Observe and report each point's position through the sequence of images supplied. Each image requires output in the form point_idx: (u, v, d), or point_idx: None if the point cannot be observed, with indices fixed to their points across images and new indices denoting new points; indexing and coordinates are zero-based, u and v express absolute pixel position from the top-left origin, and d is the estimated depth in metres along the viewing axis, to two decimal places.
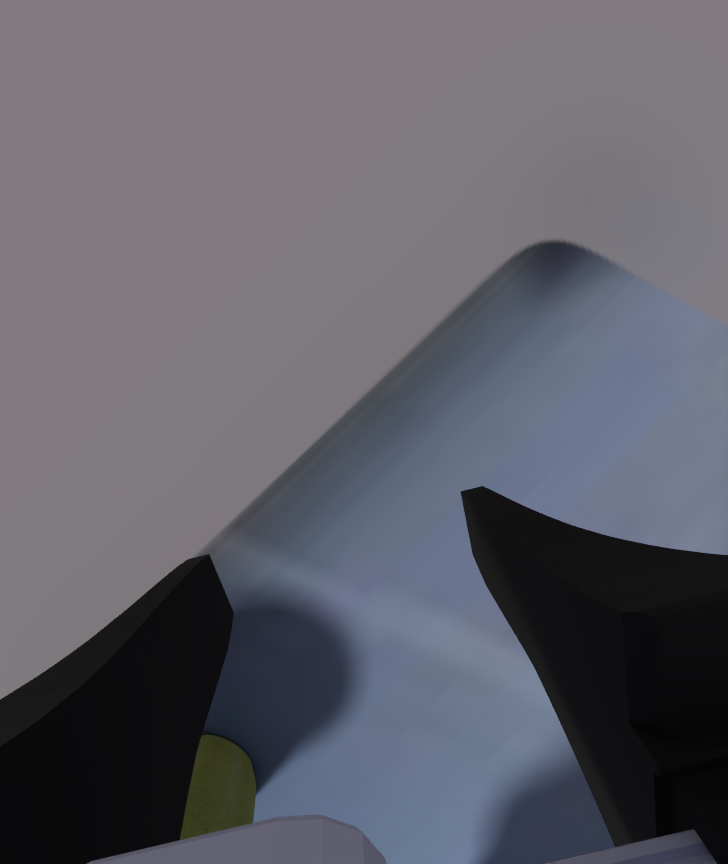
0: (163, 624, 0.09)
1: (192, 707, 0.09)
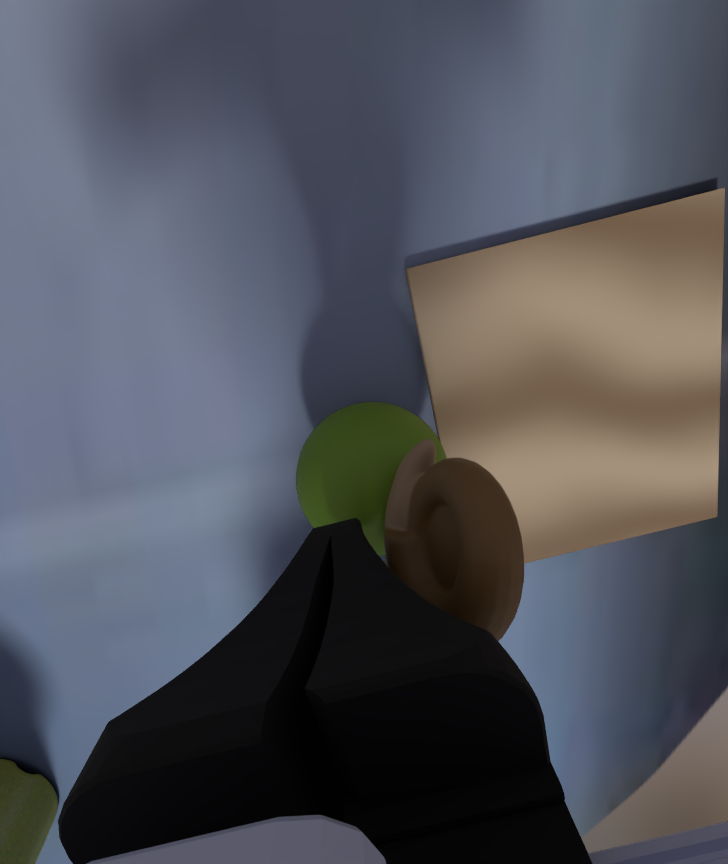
0: (325, 584, 0.09)
1: None
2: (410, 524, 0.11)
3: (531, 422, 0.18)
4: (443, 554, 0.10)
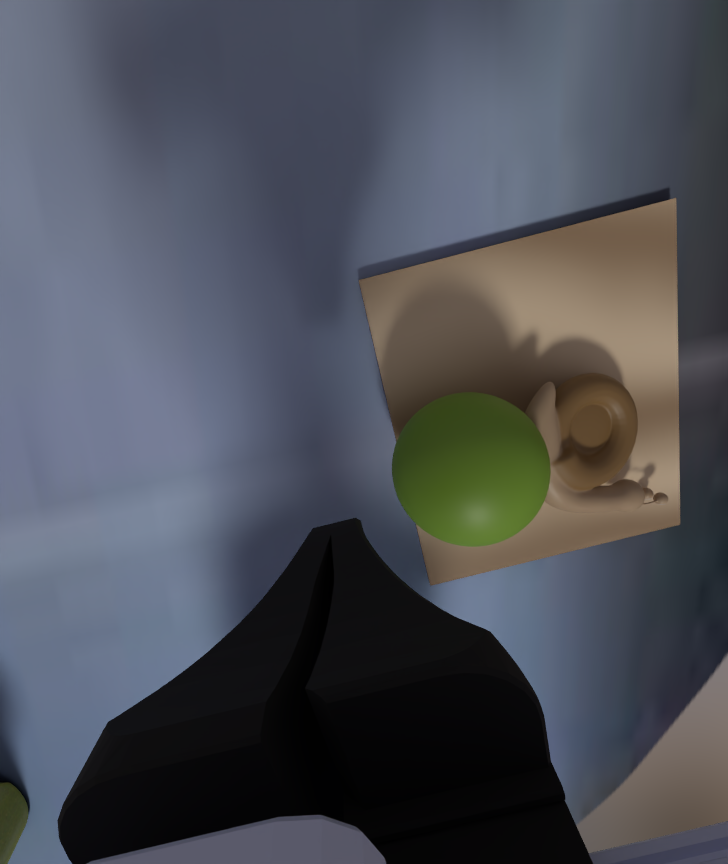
0: (324, 585, 0.09)
1: None
2: (564, 441, 0.16)
3: None
4: (593, 432, 0.17)
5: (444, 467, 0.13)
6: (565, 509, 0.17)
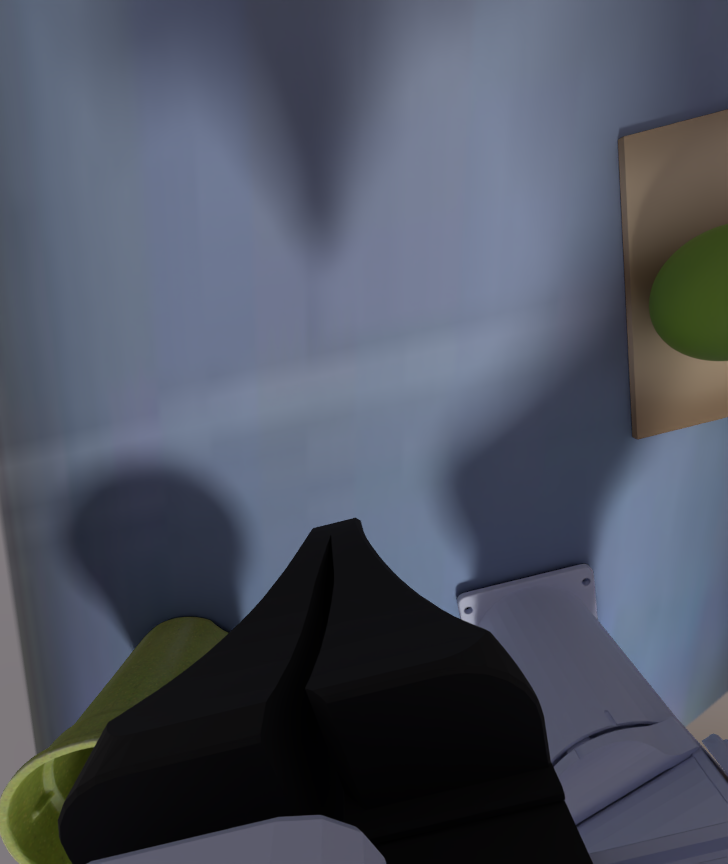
0: (324, 585, 0.09)
1: None
2: None
3: None
4: None
5: None
6: None
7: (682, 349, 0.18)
